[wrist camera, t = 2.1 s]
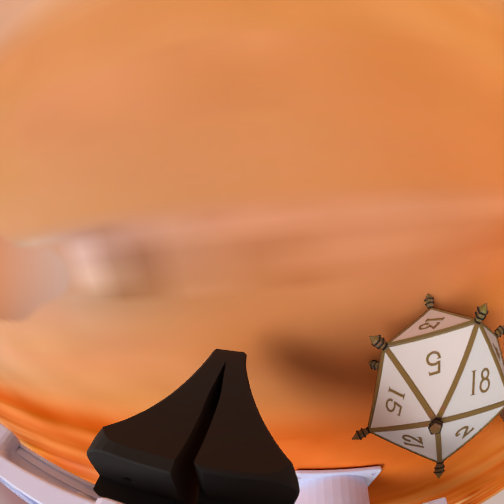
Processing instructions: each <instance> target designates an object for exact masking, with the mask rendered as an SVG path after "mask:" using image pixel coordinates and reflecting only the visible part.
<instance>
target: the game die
mask: <svg viewBox="0 0 504 504" xmlns="http://www.w3.org/2000/svg"><path fill="white" fill-rule="evenodd" d="M433 299H434V298H432V297H431V296H430V295H429V294H427V297H426V299H425V300H424V301H425V302H426V304H425V305H426V306H427V308H428V310H427V311H425V312H424V313H423V314H422V315H421V316H420V317H418V318H417V319H416V320H415V321H414V322H412V323H411V324H410V325H409V326H408V327H406V328H405V329H404V330H403V331H401V332H400V333H399V334H398V335H396V336H395V337H394V338H392V339H391V340H390V341H388V342H387V343H386V342H385V340H384V338H382V337H381V335H378V336H369V337H370V339H371V342H372V345H373V346H374V347H376V348H378V349H379V348H380V349H382V352H381V357H380V361H379V362H378V361H375V360H373V361H371V362H369V365H370V367H371V369H374V370H376V369H378V373H377V379H376V385H375V391H374V397H373V403H372V408H371V413H370V418H369V422H368V427H367V428H365V429H362V428H361V430H359V431H356V433H355V435H354V437H353V438H352V440H354V439H360V440H362V438H363V437H366V435H368V434H369V433H372V434H374V435H376V436H378V437H380V438H382V439H384V440H386V441H388V442H391V443H393V444H395V445H397V446H399V447H401V448H404V449H406V450H408V451H410V452H413V453H415V454H417V455H420V456H422V457H424V458H427V459H429V460H432V461H434V462H437V464H436V467H434V469H435V472H434V473H435V474H436V476H437V477H438V479H439V477H440V476H441V475H442V473H443V472H444V471H445V470H444V467H445V466H444V464H443V462H444V460H446V459H447V458H448V457H450V456H451V455H452V454H454V453H455V452H456V451H458V450H459V449H460V448H461V447H463V446H464V445H465V444H466V443H467V442H469V441H470V440H471V439H472V438H473V437H474V436H476V435H477V434H478V433H479V432H480V431H481V430H482V429H483V428H484V427H486V426H487V425H488V424H489V423H490V422H491V421H492V420H493V419H494V418H495V417H496V416H497V415H498V414H499V413H500V412H501V411H502V410H503V409H504V360H503V356H502V352H501V349H500V345H499V342H498V337H501V335H502V334H504V326H499V327H498V328H497V329H496V330H495V333H494V332H492V331H491V330H490V329H489V328H488V327H487V326H486V325H484V324H483V323H482V322H481V321H482V320H484V319H485V317H486V315H487V313H488V312H489V311H487V303H485V304H484V305H482V306H480V307H477V309H478V310H477V312H475V314H476V316H475V318H473V317H469V316H465V315H461V314H457V313H453V312H449V311H445V310H441V309H437V308H434V307H433V305H434V302H433Z"/></svg>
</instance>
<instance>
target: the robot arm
mask: <svg viewBox="0 0 504 504" xmlns="http://www.w3.org/2000/svg"><path fill="white" fill-rule="evenodd" d="M246 356H247V355H246V354H245V353H244V352H237V351H229V350H221V349H216V350H214V351H213V353H212V354H211V355H210V356H209V358H208V359H207V360H206V361H205V362H204V364H203V365H202V366H201V367H200V368H199V369H198V370H197V371H196V372H195V373H194V374H193V375H192V376H191V377H190V378H189V379H188V380H187V381H186V382H185V383H184V384H183V385H181V386H180V387H179V388H178V389H177V390H176V391H174V392H173V393H172V394H170V395H169V396H168V397H166V398H165V399H163V400H162V401H160V402H159V403H157V404H156V405H154V406H152V407H151V408H149V409H147V410H145V411H143V412H141V413H139V414H137V415H135V416H133V417H131V418H128V419H126V420H123V421H120V422H117V423H114V424H111V425H108V426H104V427H103V428H102V429H101V430H100V432H99V433H98V434H97V436H96V437H95V439H94V440H93V442H92V444H91V445H90V447H89V449H88V450H87V456H88V458H89V460H90V462H91V463H92V465H93V466H94V468H95V469H96V470H97V472H98V473H99V475H100V476H99V478H98V480H97V482H96V484H93V483H90V482H88V481H86V480H84V479H82V478H80V477H78V476H76V475H74V474H72V473H70V472H68V471H66V470H64V469H62V468H60V467H58V466H57V465H55V464H53V463H51V462H50V461H48V460H46V459H44V458H43V457H41V456H39V455H38V454H36V453H35V452H33V451H31V450H30V449H28V448H27V447H25V446H24V445H22V444H21V443H20V441H19V440H18V438H17V437H16V436H15V435H14V434H13V433H12V432H11V431H10V430H9V429H8V428H6V427H5V426H3V425H2V424H1V423H0V482H2V483H3V484H4V485H5V486H7V487H8V488H9V489H10V490H11V491H13V492H14V493H15V494H17V495H18V496H19V497H21V498H22V499H23V500H25V501H26V502H27V503H29V504H370V501H369V494H368V488H367V487H368V486H369V485H370V484H371V483H372V481H373V480H374V479H375V478H376V477H377V475H378V474H379V473H380V472H381V470H382V469H381V466H374V467H365V468H354V469H338V470H297V471H295V470H294V467H293V464H292V463H291V461H290V460H289V459H288V458H287V457H286V455H285V454H284V453H283V452H282V450H281V449H280V448H279V446H278V445H277V443H276V442H275V441H274V439H273V437H272V436H271V434H270V432H269V431H268V429H267V427H266V426H265V424H264V422H263V420H262V418H261V416H260V414H259V411H258V409H257V407H256V404H255V401H254V399H253V396H252V393H251V389H250V385H249V381H248V377H247V371H246ZM422 504H447V500H446V497H442V498H439V499H436V500H432V501H429V502H425V503H422Z"/></svg>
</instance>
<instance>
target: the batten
mask: <svg viewBox="0 0 504 504" xmlns="http://www.w3.org/2000/svg"><path fill="white" fill-rule="evenodd" d="M499 414H500V416H501V418H502V419H503V421H504V409H503V410H502V411H501V412H500V413H499Z"/></svg>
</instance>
